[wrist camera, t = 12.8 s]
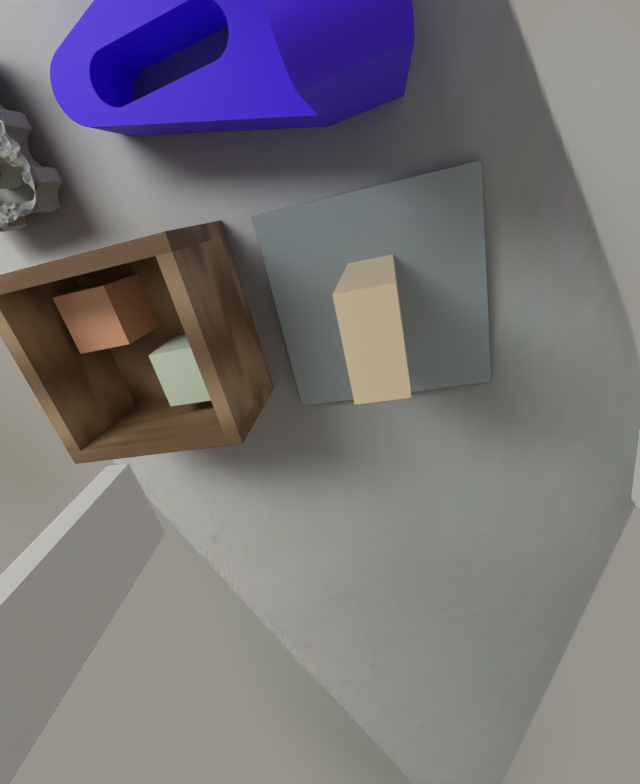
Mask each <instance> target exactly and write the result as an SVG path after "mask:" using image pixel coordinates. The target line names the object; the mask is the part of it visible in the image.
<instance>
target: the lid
mask: <svg viewBox="0 0 640 784" xmlns="http://www.w3.org/2000/svg"><path fill="white" fill-rule="evenodd" d="M252 219H253V223H254V227H255V231H256V234H257V238H258V242H259V246H260V249H261V253H262V257H263V261H264V264H265V268H266V272H267V276H268V279H269V283H270V287H271V291H272V294H273V298H274V302H275V306H276V309H277V313H278V317H279V321H280V324H281V328H282V332H283V336H284V339H285V343H286V347H287V351H288V354H289V358H290V362H291V366H292V369H293V373H294V377H295V381H296V384H297V388H298V392H299V396H300V399H301V403H302V406H306V405H314V404H322V403H330V402H338V401H345V400H353V399H354V403H355V405H357V404H365V403H373V402H381V401H389V400H397V399H405V398H412V397H411V392H416V391H424V390H432V389H440V388H447V387H455V386H463V385H471V384H479V383H487V382H491V363H490V340H489V318H488V295H487V272H486V249H485V227H484V204H483V181H482V160H480V161H475V162H471V163H467V164H463V165H459V166H455V167H451V168H447V169H443V170H439V171H435V172H430V173H426V174H422V175H418V176H414V177H410V178H406V179H402V180H398V181H394V182H390V183H385V184H381V185H377V186H373V187H369V188H365V189H361V190H357V191H353V192H349V193H345V194H340V195H336V196H332V197H328V198H324V199H320V200H316V201H312V202H308V203H304V204H299V205H295V206H291V207H287V208H283V209H279V210H275V211H271V212H267V213H263V214H259V215H254V216H252Z"/></svg>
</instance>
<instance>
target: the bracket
mask: <svg viewBox="0 0 640 784" xmlns="http://www.w3.org/2000/svg"><path fill="white" fill-rule="evenodd" d="M226 27H228V29H229V37H228V43H227V46H226V49H225V51H224V53H223V54H222V56H221V57H220V58H219V59H218V60H216V61H215V62H213V63H211V64H208V65H206V66H204V67H202V68H200V69H198V70H196V71H194V72H192V73H190V74H188V75H186V76H184V77H182V78H180V79H178V80H176V81H174V82H172V83H170V84H168V85H166V86H164V87H162V88H160V89H158V90H156V91H154V92H152V93H150V94H148V95H146V96H144V97H142V98H140V99H138V100H136V101H135V98H134V92H133V87H134V81H135V79H136V77H137V75H138V74H139V73H140V72H141V71H142V70H144V69H146V68H148V67H150V66H152V65H154V64H156V63H158V62H160V61H161V60H163V59H165V58H167V57H169V56H171V55H173V54H175V53H177V52H179V51H181V50H183V49H185V48H187V47H189V46H191V45H193V44H195V43H196V42H198V41H200V40H202V39H204V38H206V37H208V36H210V35H212V34H214V33H216V32H218V31H220V30H222V29H224V28H226ZM413 44H414V20H413V7H412V0H94V1H93V2H92V4H91V5H90V6H89V8H88V9H87V10H86V12H85V13H84V14H83V16H82V17H81V18H80V20H79V21H78V22H77V24H76V25H75V26H74V28H73V29H72V30H71V32H70V33H69V34H68V36H67V37H66V38H65V40H64V41H63V42H62V44H61V45H60V46H59V48H58V49H57V51H56V52H55V54H54V56H53V59H52V62H51V68H50V78H51V85H52V89H53V92H54V95H55V97H56V100H57V102H58V103H59V105H60V107H61V108H62V110H63V111H64V112H65V113H66V114H67V115H68V116H69V117H70V118H71V119H72V120H73V121H75V122H76V123H78V124H80V125H82V126H86V127H90V128H95V129H100V130H105V131H110V132H115V133H120V134H125V135H130V136H141V135H161V134H182V133H202V132H223V131H243V130H263V129H284V128H304V127H324V126H330V125H333V124H335V123H338V122H340V121H343V120H345V119H347V118H350V117H352V116H355V115H357V114H360V113H362V112H364V111H367V110H369V109H372V108H374V107H377V106H379V105H382V104H384V103H386V102H389V101H391V100H394V99H396V98H399V97H401V96H403V95H404V91H405V86H406V81H407V75H408V70H409V65H410V60H411V55H412V49H413Z"/></svg>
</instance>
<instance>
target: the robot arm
mask: <svg viewBox="0 0 640 784" xmlns="http://www.w3.org/2000/svg"><path fill="white" fill-rule="evenodd" d="M631 499H632V501H633V502H634V503H635V504H636V506H637V507H638V508H639V509H640V432H639V440H638V448H637V456H636V464H635V472H634V480H633V488H632V496H631ZM164 534H165V531H164V529H163V527H162V525H161V524H160V522H159V520H158V518H157V516H156V514H155V512H154V511H153V509H152V507H151V505H150V503H149V501H148V499H147V497H146V495H145V493H144V492H143V490H142V488H141V486H140V484H139V482H138V480H137V478H136V477H135V475H134V473H133V471H132V469H131V467H130V465H129V464H121V465H113V466H106V468H104V469H103V470H102V471H101V472H100V473H99V475H97V476H96V478H95V479H94V480H93V481H92V482H91V483H90V484H89V485H88V486H87V487H86V488H85V489H84V490H83V491H82V492H81V493H80V494H79V495H78V496H77V497H76V498H75V499H74V500H73V501H72V502H71V503H70V504H69V505H68V506H67V507H66V508H65V509H64V510H63V511H62V512H61V514H60V515H59V516H58V517H57V518H56V519H55V520H54V521H53V522H52V523H51V524H50V525H49V526H48V527H47V528H46V529H45V530H44V531H43V532H42V533H41V534H40V535H39V536H38V537H37V538H36V539H35V540H34V541H33V542H32V543H31V544H30V546H28V547H27V548H26V549H25V550H24V552H23V553H22V554H21V555H20V556H19V557H18V558H17V559H16V560H15V561H14V562H13V563H12V564H11V565H10V566H9V567H8V568H7V569H6V570H5V571H4V572H3V573H2V574H1V575H0V784H9V783H10V782H11V781H12V779H13V777H14V776H15V774H16V773H17V771H18V769H19V768H20V766H21V764H22V763H23V761H24V760H25V758H26V756H27V755H28V753H29V752H30V750H31V748H32V747H33V745H34V744H35V742H36V740H37V739H38V737H39V736H40V734H41V732H42V731H43V729H44V727H45V726H46V724H47V723H48V721H49V719H50V718H51V716H52V714H53V713H54V711H55V710H56V708H57V707H58V705H59V703H60V702H61V700H62V698H63V697H64V695H65V694H66V692H67V690H68V689H69V687H70V686H71V684H72V682H73V681H74V679H75V677H76V676H77V674H78V673H79V671H80V669H81V668H82V666H83V665H84V663H85V661H86V660H87V658H88V656H89V655H90V653H91V652H92V650H93V649H94V647H95V645H96V644H97V642H98V640H99V639H100V637H101V636H102V634H103V632H104V631H105V629H106V627H107V626H108V624H109V623H110V621H111V620H112V618H113V616H114V615H115V613H116V611H117V610H118V608H119V607H120V605H121V603H122V602H123V600H124V599H125V597H126V595H127V594H128V592H129V591H130V589H131V587H132V586H133V584H134V582H135V581H136V579H137V577H138V576H139V574H140V573H141V571H142V570H143V568H144V566H145V565H146V563H147V562H148V560H149V558H150V557H151V555H152V553H153V552H154V550H155V548H156V547H157V545H158V544H159V542H160V540H161V539H162V537H163V536H164Z"/></svg>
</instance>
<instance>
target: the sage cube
mask: <svg viewBox="0 0 640 784" xmlns="http://www.w3.org/2000/svg"><path fill="white" fill-rule="evenodd" d="M148 356H149V358H150V360H151V363H152V365H153V367H154V370H155V372H156V374H157V376H158V379H159V381H160V383H161V386H162V388H163V390H164V393H165V395H166V397H167V399H168V402H169V404H170V406H177V405H184V404H191V403H197V402H204V401H211V399H210V396H209V394H208V391H207V389H206V386H205V383H204V381H203V378H202V376H201V373H200V370H199V368H198V365H197V363H196V360H195V357H194V355H193V352H192V350H191V347H190V344H189V342H188V339H187V337H186V334H185V335H180V336H175V337H174V338H172V339H171V340H170V341H168V342H167V343H165V344H164V345H162V346H161V347H160V348H158V349H157V350H155V351H154V352H153V353H151V354H150V355H148Z"/></svg>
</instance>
